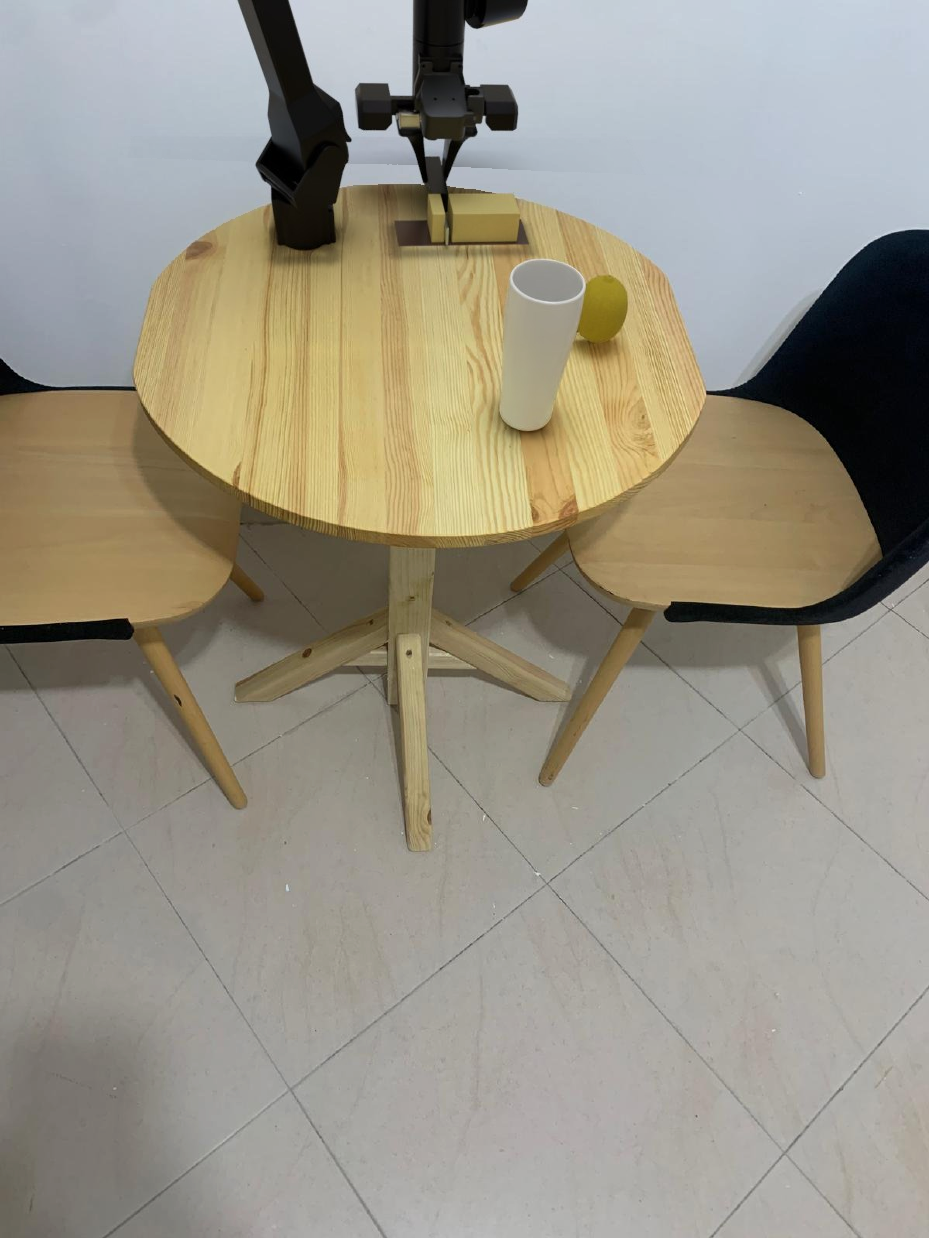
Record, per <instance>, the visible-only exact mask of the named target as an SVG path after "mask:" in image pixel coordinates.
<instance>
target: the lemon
mask: <svg viewBox="0 0 929 1238" xmlns="http://www.w3.org/2000/svg"><path fill="white" fill-rule="evenodd" d="M585 283H586V289H585V295H584V302H583V307H582V312H581V317H580V321H579V325H578V329H577V332H578V333H579V335H580V336H581V337H582V338H583V339H584V340H586V341H588V342H590V343H591V344H599V343H605V342H608V341H610V340H612V339H614V338H615V337H616V336H617V335H618V334H619V333H620V331H621V329H622V328H623V327H624V324H625V321H626V319H627V316H628V315H627V314H628V307H629V299H628V297H629V296H628V292H627V290H626V287H625V285H624V284H623V283H622V281H620V280H619V279H618V278H617V277H614V276H612V275H611V274H602V275H598V276H595V277H593V278H592V279H590V280H588V281H587V282H585Z"/></svg>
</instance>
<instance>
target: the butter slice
mask: <svg viewBox="0 0 929 1238" xmlns="http://www.w3.org/2000/svg"><path fill="white" fill-rule="evenodd" d="M445 215H446V213H445V212H444V207H443V203H442V199H441V195H440V194H428V199H427V216H426V217H427V219H426V220H427V223H428V228H429V232H430V237H431V241H432V243H435V242H444V229H445Z"/></svg>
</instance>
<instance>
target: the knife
mask: <svg viewBox="0 0 929 1238" xmlns="http://www.w3.org/2000/svg"><path fill="white" fill-rule="evenodd" d="M425 160H426V170H427V174H426V183H423V185H424V190H425V195H426V199H427V200H428V194H440V195H441V199H442V203H443V207H444V212H445V229H444V240H445V244H446V245H448V237H449V227H448V223H447V215H446V214H448V194H450V192H449V189H448V188H449V187H448V183H447V181H446V180H445V176H444V173H443V169H442V161H441V157H440V156H439V155H437V156H436V155H434V156H431V155H429V156H427V155H425Z"/></svg>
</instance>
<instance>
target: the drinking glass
mask: <svg viewBox="0 0 929 1238" xmlns="http://www.w3.org/2000/svg"><path fill="white" fill-rule="evenodd" d="M508 278H509V279H508V283H507V288H506V295H505V301H504V310H503V321H502V322H503V323H502V353H501V384H500V399H499V407H498V410H499V414H500V417H501V419H502V421H504V423H505V424H506V425H508V426H509V427H511V428H513V429H515V430H518V431H523V432H532V431H537V430H540V429H542V428H544V427H545V426H546V425H548V423H549V422H550V421H551V418H552V416H553V411H554V406H555V402H556V399H557V396H558V392H559V389H560V386H561V383H562V380H563V377H564V373H565V370H566V367H567V364H568V361H569V357H570V354H571V353H572V349H573V346H574V342H575V339H576V336H577V332H578V330H577V329H578V325H579V321H580V317H581V312H582V307H583V302H584V295H585V289H586V283H587V282H586V280H585V278H584V276H583V275H582V273H581V272H580V271H579V270H577V269H576V268H575V267H573V265H570V264H568V263H566V262H563V261H561V260H557V259H553V258H552V259H550V258H533V259H532V258H531V259H528V260H525V261H522V262H520V263H519V264H517V265H516V266H514V267H513V268H512V270H511V271H510V273H509V277H508Z"/></svg>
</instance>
